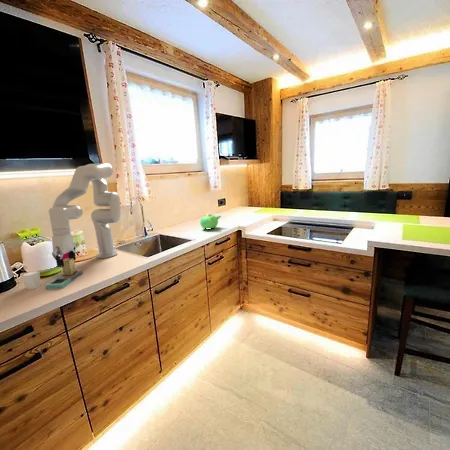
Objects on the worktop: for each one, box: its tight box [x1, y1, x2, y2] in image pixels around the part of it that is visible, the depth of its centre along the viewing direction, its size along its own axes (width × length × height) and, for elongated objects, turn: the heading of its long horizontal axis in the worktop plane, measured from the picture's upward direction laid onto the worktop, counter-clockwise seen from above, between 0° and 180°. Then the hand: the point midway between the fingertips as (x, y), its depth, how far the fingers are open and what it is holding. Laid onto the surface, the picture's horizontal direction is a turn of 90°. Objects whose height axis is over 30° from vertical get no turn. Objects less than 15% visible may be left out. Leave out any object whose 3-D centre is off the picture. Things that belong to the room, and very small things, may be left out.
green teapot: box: [199, 213, 222, 229], centre depth 219 cm, size 18×17×15 cm
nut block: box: [61, 258, 77, 276], centre depth 123 cm, size 4×4×10 cm
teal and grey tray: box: [44, 269, 83, 290], centre depth 120 cm, size 17×8×2 cm, turn 2°
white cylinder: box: [21, 270, 42, 290], centre depth 114 cm, size 7×7×7 cm
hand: (67, 263), depth 122 cm, fingers open, 9 cm apart
